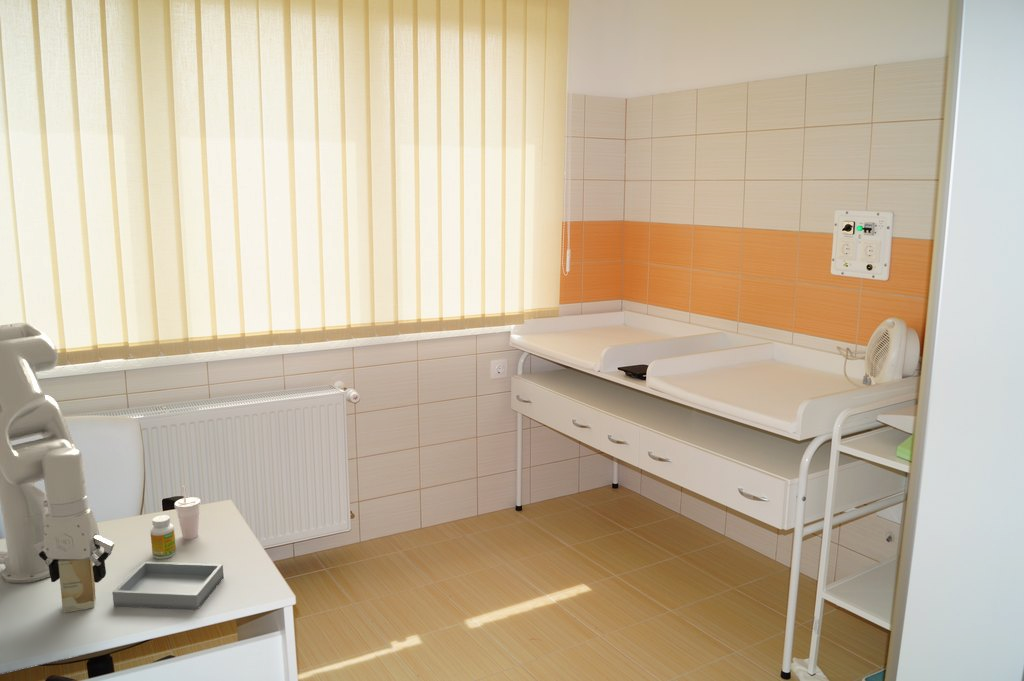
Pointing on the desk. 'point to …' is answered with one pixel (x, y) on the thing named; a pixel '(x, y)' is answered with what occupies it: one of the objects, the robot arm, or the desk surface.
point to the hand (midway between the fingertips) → (78, 579)
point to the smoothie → (188, 515)
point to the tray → (168, 585)
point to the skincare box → (77, 584)
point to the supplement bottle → (162, 537)
